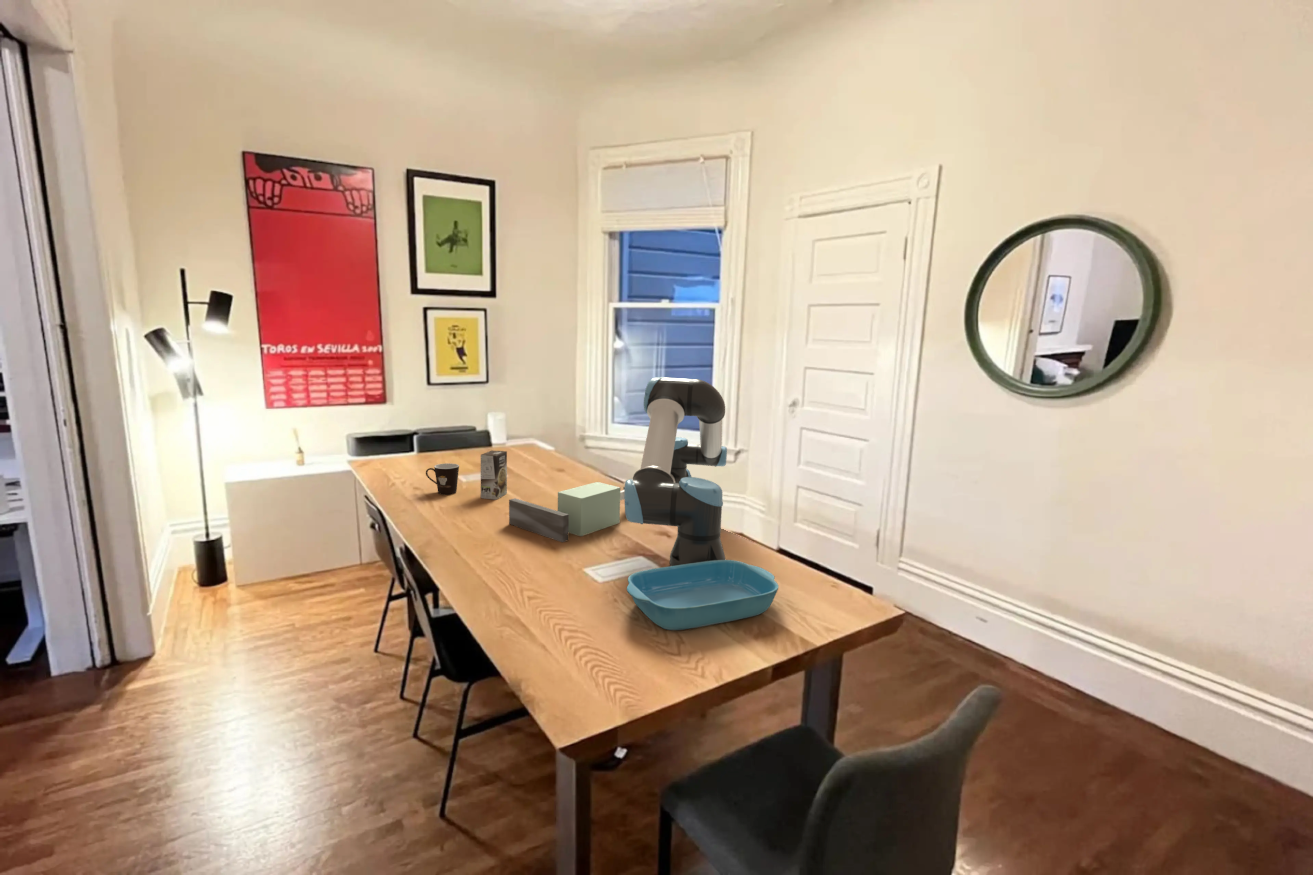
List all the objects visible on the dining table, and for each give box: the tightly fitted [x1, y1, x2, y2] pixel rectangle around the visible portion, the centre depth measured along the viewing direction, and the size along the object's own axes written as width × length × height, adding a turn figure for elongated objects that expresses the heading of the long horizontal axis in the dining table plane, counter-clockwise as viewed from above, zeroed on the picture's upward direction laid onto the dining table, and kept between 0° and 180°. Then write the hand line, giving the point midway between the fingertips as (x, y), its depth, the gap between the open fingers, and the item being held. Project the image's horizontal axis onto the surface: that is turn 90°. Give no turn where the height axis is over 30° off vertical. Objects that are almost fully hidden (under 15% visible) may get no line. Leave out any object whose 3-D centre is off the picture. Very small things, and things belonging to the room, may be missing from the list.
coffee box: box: [480, 449, 508, 501], centre depth 229 cm, size 9×6×16 cm
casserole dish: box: [626, 559, 779, 631], centre depth 146 cm, size 37×22×7 cm, turn 117°
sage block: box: [557, 481, 622, 537], centre depth 201 cm, size 18×10×12 cm, turn 143°
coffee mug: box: [425, 462, 460, 496], centre depth 233 cm, size 12×9×10 cm
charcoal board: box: [508, 497, 570, 543], centre depth 193 cm, size 2×24×8 cm, turn 52°
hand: (616, 496), depth 211 cm, fingers closed
